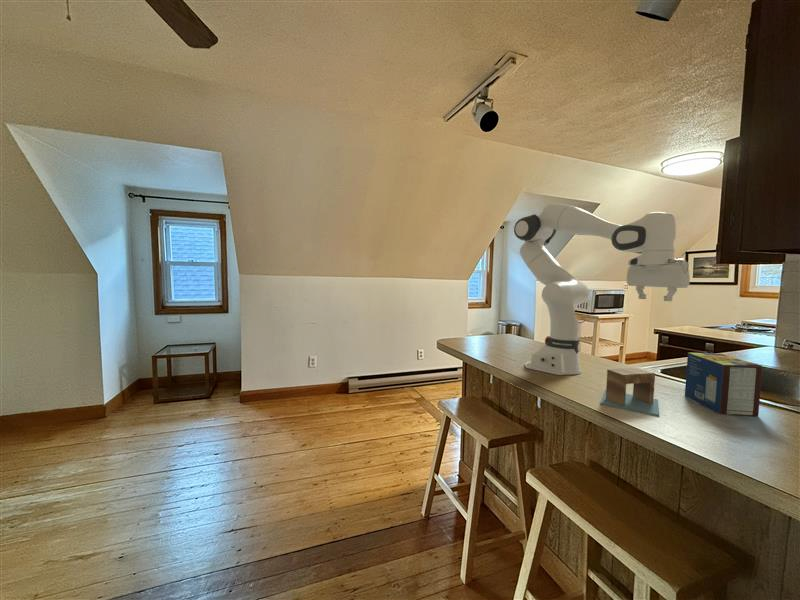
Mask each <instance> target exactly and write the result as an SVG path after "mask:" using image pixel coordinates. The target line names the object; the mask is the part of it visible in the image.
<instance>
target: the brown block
mask: <svg viewBox="0 0 800 600" xmlns="http://www.w3.org/2000/svg"><path fill="white" fill-rule="evenodd" d="M655 381H656V372H654V371H650V370H647V369H643V368H641V367H629V368H628V367H627V368H610V369H609V368H608V369H607V370H606V387H605V388H606V389H605V390H606V399H607V400H609V401H611V402H614V403H616V404H618V405H620V406H625V397H626V394H627V385H630V384H633V388H632V395H633V397H634V398H637V399H639V400H641V401H644V402H646V403H649V404H653V399H655V398H654V397H655V395H654V394H655Z"/></svg>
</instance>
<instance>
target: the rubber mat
mask: <svg viewBox="0 0 800 600" xmlns="http://www.w3.org/2000/svg"><path fill="white" fill-rule="evenodd" d="M599 405H601V406H605V407H609V408H610V407H611V408H614V409H615V408H616V409H621V410H625V411H628V412H629V411H630V412H635V413H638V412H640V414H643V413H645V414H644V415H648V414H649V415H648V416H653V417H654V416H655V417H659V418H660V408H659V399H657V398H653V404H649V403H646V402H644V401H641V400H639V399H637V398H634V397H633V394H629V393H626V397H625V406H620V405H618V404H616V403H614V402H611V401H609V400H607V399H606V389H604V391H603V394H602V397H601V400H600V402H599Z"/></svg>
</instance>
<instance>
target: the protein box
mask: <svg viewBox="0 0 800 600" xmlns="http://www.w3.org/2000/svg"><path fill="white" fill-rule="evenodd" d="M686 361H687V362H686V374H685V384H684V385H685V388H684V397H686V398H687V399H689V398H690V400H691V399H692V400H691V401H693V400H694V402H695V401H696V402H695V403H697V402H698V404H699V403H700V404H699V405H702V406H703V407H705V408H707V409H708V408H709V410H710V409H711V411H712V410H713V411H712V412H714V413H717V414H718V413H719V414H718V415H725V414H733V415H732V416H743V415H745V416H744V417H746V416H747V417H759V413H760V399H761V390H762V389H761V388H762V375H763V365H761V364H758V363H755V362H751V361H747V360H744V359H740V358H737V357H733V356H730V355H727V354H724V353H712V352H709V353H708V352H707V353H706V352H705V353H704V352H687V360H686Z"/></svg>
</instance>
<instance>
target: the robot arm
mask: <svg viewBox="0 0 800 600" xmlns="http://www.w3.org/2000/svg"><path fill="white" fill-rule="evenodd" d="M676 228H677V225H676V218H675V216H674V215H673V214H672V213H669V212H663V211H652V212H651V211H650V212H648V213H646V214H645V215H643V216H642V217H640V218H638V219H637V220H635V221H633V222H629V223H627V224H625V225H621V224H618V223H614V222H611V221H607V220H605V219H603V218H601V217H598V216H596V215H595V214H593V213H591V212H589V211H587V210H584V209H582V208H579V207H577V206H575V205H570V204H566V203H557V202H551V203H549V204H547V205H545V206H544V208H543V209H542V212H541V213H539V215H536V214H531V215H528V216H524V217H521V218H519V219H518V220H517V221H516V222H515V224H514V227H513V232H514V235H515V236H516V238H517V239H519V240H521V241H524V243H523V244H522V245H521V246H520V248H519V254H520V257H521V258H522V261H523V262H524V264H525V265H526V267H527V268H528V269H529V270H530V272H531V273H532V275H533V276H534V277H535V278H536V279H537V281H538V282H539V283H541V284H543V285H544V287H543V289H542V291H541V298H542V301H543V303H544V304H546V306H547V310H548V313H549V319H550V328H549V329H550V330H549V335H547V336H546V337H545V339H544V345H542V346H540V347H539V348H537V349H536V350H535V351H533V352H532V353H531V356H530V360H528V361H526V362H524V367H525V368H526V369H529V370H535V371H538V372H544V373H548V374H552V375H557V376H564V375H566V376H567V375H568V376H569V375H580V374H582V370H581V367H580V366H581V365H580V359H579V352H580V344H581V343H580V339H579V334H580V333H579V332H580V320H579V319H578V318H577V316H576V312H575V307H576V306H579V305H580V304H581V305H582V304H583V303H585V302H586V301H587V300H588V299H589V297H590V290H589V287H588V286H587V285H586V284H584V283H583V282H581V281H580V280H578V279H577V278H576V277H575V276H574V275H572V274H571V273H570V272H568V270H566V269H565V268H564V267H563V266H562V265H560V263H559V262H558V261H557V260H556V259H555V258H554V256H553V255H552V254H551V253H550V252H549V251H548V249H547V248H546V245H548V244H549V243H550V242H551V240H552V239H553V238H554V236H555V235H556V233H557V231H558V232H561V233H564V234H568V235H573V236H574V235H576V236H591V237H593V236H594V237H601V238H604V239H607V240H610V241H611V244H612V247H614V248H615V249H617V250H618V251H622V252H626V253H633V254H634V253H635V254H639V255H637V256H635V257H633V258H631V259H629V260H628V264H627V265H628V266H629V267H628V268H627V273H626V284H627V286H629V287H630V286H631V287H635V290H636V292H637V294H638V299H639V300H646V299H647V293H646V294H645V292H644V290H645V287H650V288H651V287H653V288H667V291H668V292H667V293H666V295H663V301H664V302H673V296H674V295H675V294H676V293H677V291H678V290H677V289H678V288H679V289H685V288H688V287H689V286H690V283H691V282H690V279H691V277H690V270H689V269H690V268H689V264H690V263H689V262H688V261H687V260H686V259H684V258H678V259H676V258H675V247H674V246H675V245H674V242H675V240H676V234H677V233H676V232H677V230H676Z"/></svg>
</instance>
